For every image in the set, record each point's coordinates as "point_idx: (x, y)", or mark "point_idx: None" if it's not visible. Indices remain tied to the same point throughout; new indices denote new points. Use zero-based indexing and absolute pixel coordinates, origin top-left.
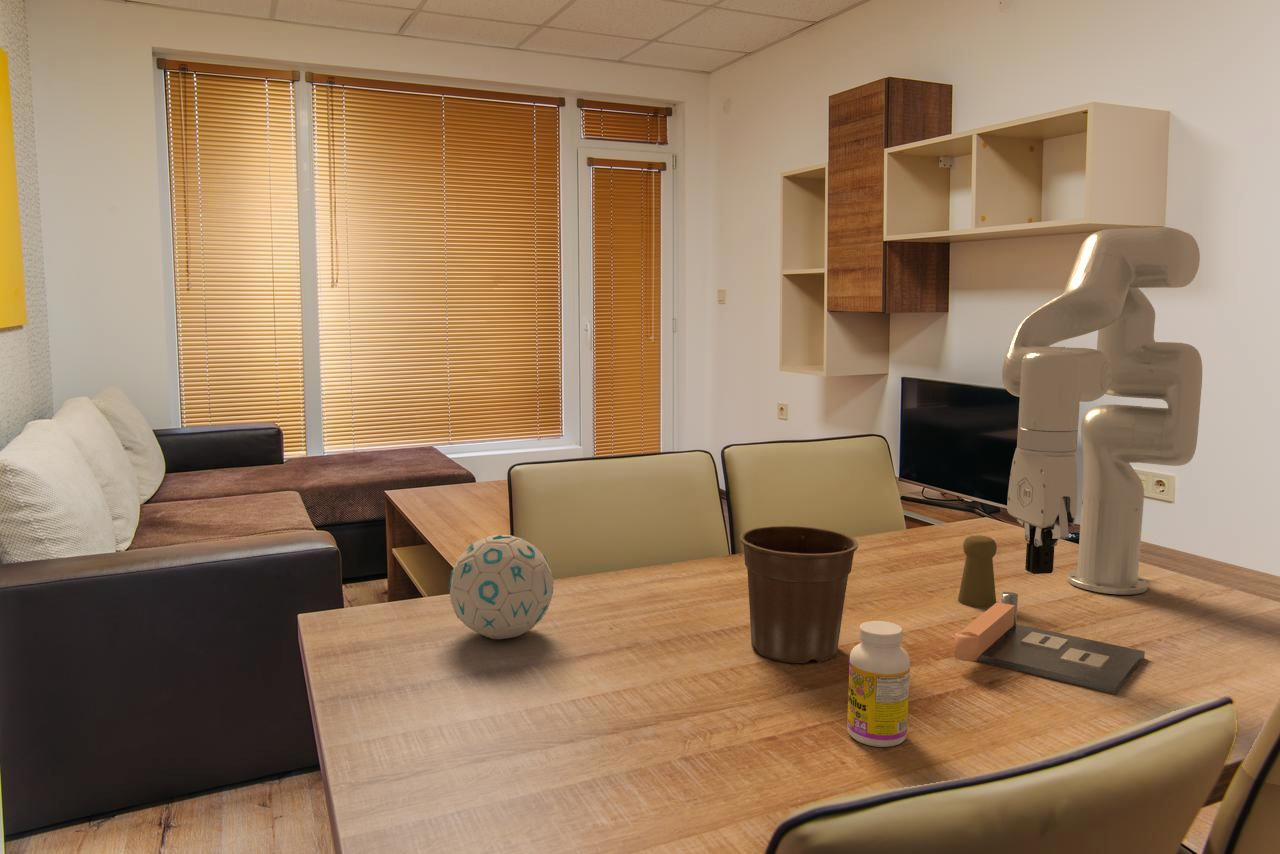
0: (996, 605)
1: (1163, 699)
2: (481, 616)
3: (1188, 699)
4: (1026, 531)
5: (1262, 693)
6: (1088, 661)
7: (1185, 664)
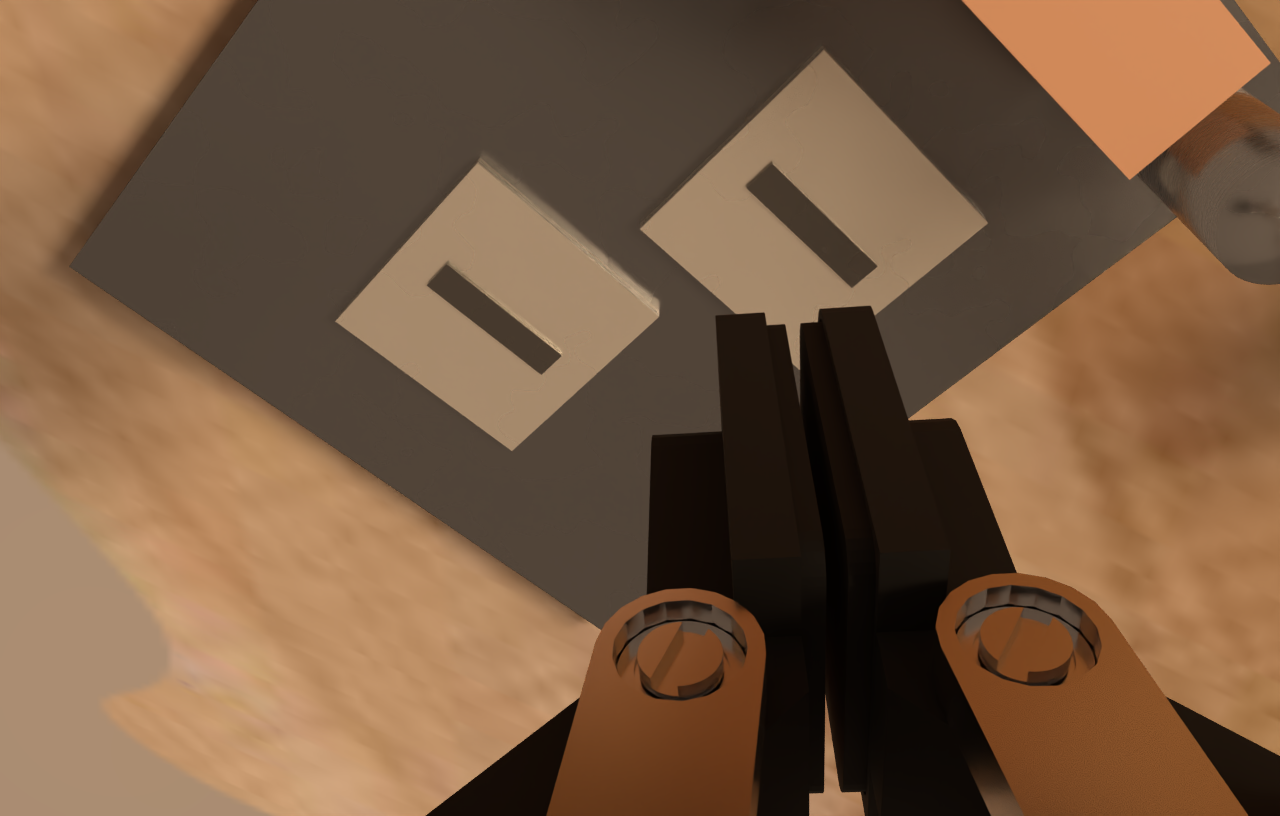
0: (1182, 6)
1: (82, 435)
2: None
3: (109, 531)
4: (1107, 736)
5: (236, 784)
6: (422, 304)
7: (537, 715)
